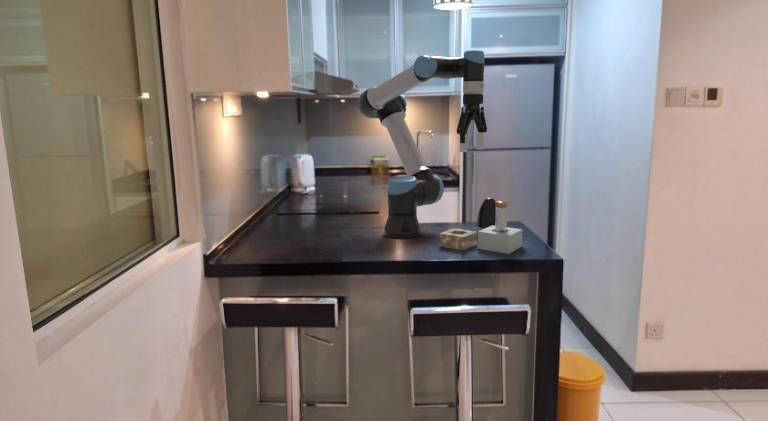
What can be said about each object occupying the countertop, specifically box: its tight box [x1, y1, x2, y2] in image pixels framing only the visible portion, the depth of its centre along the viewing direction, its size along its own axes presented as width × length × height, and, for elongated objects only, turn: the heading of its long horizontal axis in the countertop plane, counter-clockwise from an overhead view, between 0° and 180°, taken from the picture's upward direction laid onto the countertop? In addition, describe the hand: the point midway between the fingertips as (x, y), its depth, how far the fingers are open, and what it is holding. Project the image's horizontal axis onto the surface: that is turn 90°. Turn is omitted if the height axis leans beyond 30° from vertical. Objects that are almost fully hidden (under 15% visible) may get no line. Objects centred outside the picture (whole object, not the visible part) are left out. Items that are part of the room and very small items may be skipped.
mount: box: [439, 228, 478, 251], centre depth 194 cm, size 10×10×5 cm
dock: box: [477, 225, 524, 255], centre depth 190 cm, size 12×12×6 cm
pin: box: [495, 200, 509, 233], centre depth 189 cm, size 4×4×17 cm
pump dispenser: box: [475, 197, 504, 232], centre depth 209 cm, size 10×10×15 cm
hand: (471, 150), depth 196 cm, fingers open, 13 cm apart
